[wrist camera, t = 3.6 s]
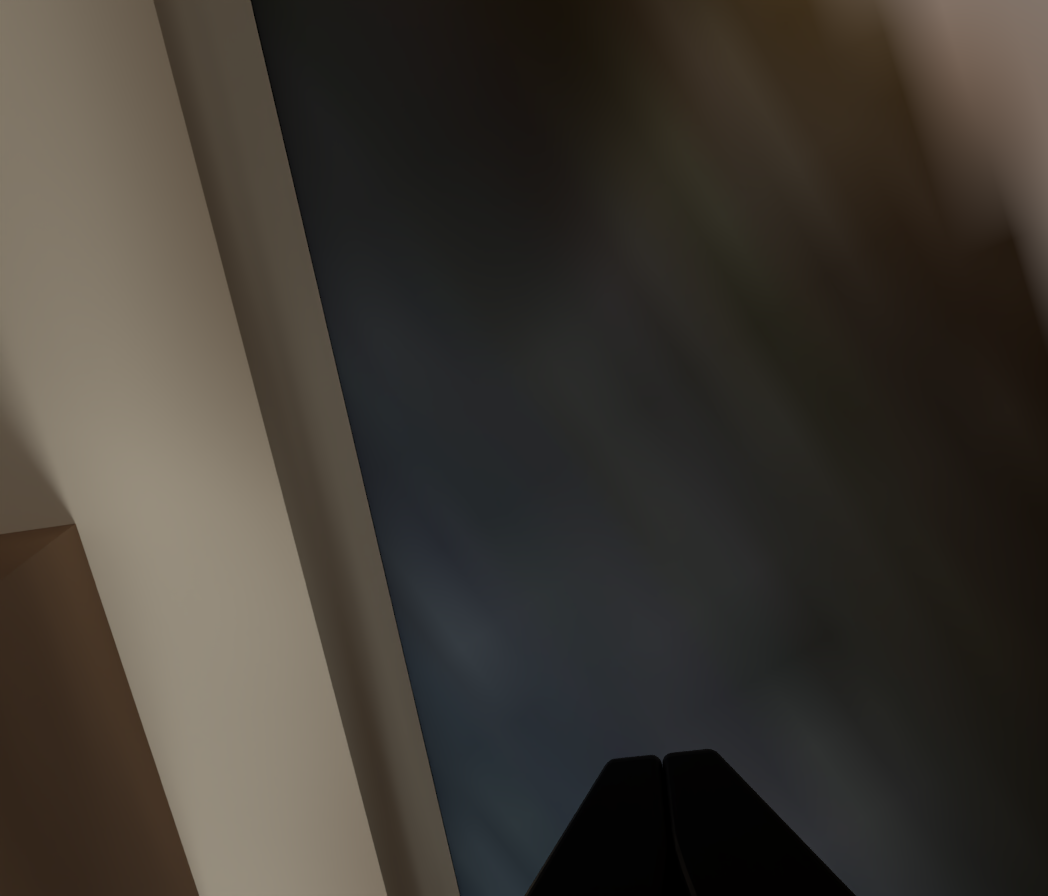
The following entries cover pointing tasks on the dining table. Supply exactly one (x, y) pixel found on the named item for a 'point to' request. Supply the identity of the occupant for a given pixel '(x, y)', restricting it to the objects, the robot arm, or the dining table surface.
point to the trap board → (203, 445)
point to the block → (73, 739)
